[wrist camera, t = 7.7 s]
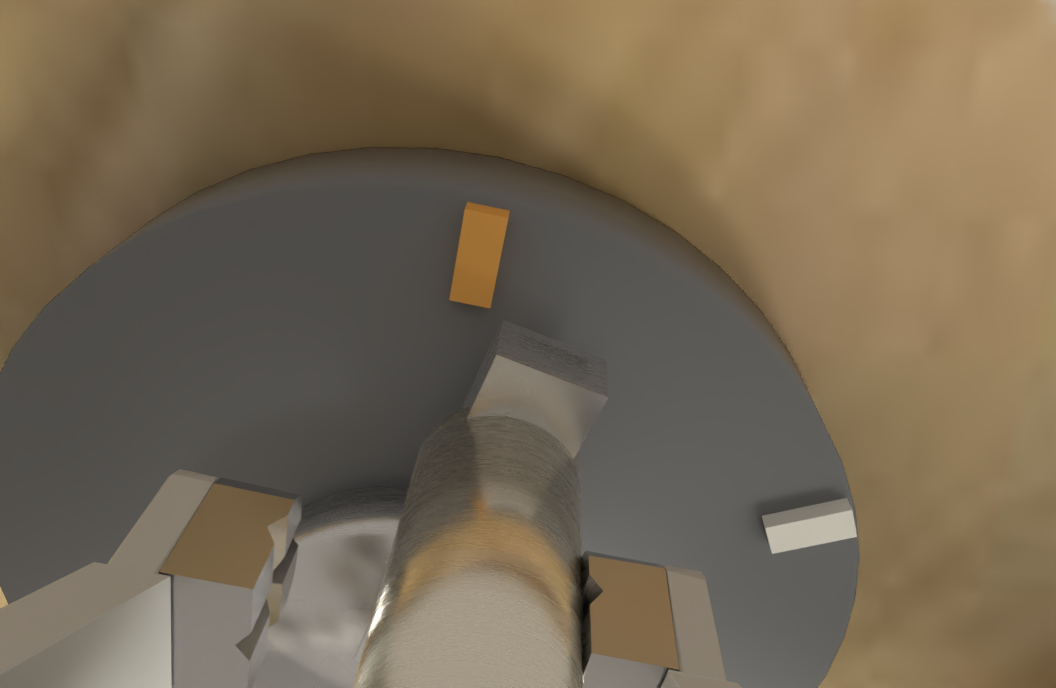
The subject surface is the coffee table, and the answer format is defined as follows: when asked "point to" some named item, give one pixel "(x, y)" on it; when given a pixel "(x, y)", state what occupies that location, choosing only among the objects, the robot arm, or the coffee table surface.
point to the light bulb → (456, 544)
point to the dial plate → (430, 379)
